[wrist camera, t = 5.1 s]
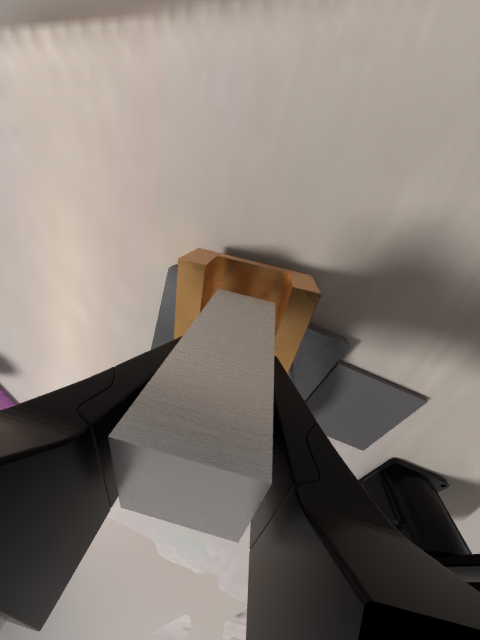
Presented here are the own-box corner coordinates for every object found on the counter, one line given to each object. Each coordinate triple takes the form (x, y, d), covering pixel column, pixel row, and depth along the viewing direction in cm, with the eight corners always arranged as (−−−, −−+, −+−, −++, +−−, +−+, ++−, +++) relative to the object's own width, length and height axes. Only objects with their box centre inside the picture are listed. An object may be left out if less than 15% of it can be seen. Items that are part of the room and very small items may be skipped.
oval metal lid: (272, 432, 20) (271, 485, 16) (164, 402, 21) (138, 448, 17) (342, 282, 13) (370, 315, 9) (170, 240, 13) (125, 254, 9)
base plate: (346, 338, 16) (350, 346, 15) (267, 435, 23) (267, 444, 22) (174, 264, 15) (168, 268, 14) (146, 387, 22) (141, 394, 21)
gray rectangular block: (275, 303, 11) (271, 484, 4) (260, 349, 12) (237, 542, 5) (218, 288, 11) (108, 436, 4) (210, 336, 12) (121, 507, 5)
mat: (423, 397, 17) (427, 401, 17) (361, 445, 21) (363, 450, 21) (337, 359, 17) (338, 363, 17) (289, 416, 21) (289, 420, 20)
